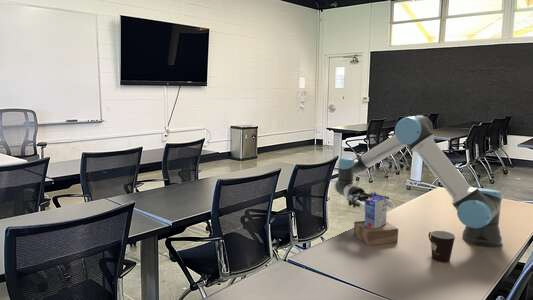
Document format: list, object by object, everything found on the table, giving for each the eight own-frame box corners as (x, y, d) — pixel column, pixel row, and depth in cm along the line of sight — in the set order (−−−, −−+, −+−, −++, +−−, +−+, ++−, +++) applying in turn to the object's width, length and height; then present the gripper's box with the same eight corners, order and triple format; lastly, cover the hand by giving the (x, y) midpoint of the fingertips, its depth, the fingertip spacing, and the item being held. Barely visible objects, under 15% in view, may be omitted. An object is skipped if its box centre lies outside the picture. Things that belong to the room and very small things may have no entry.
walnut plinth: (397, 242, 171) (398, 228, 170) (368, 245, 168) (369, 231, 167) (380, 231, 184) (381, 219, 183) (353, 234, 180) (354, 221, 179)
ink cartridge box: (375, 221, 180) (377, 190, 178) (386, 224, 176) (388, 192, 174) (363, 226, 173) (365, 194, 171) (374, 229, 169) (376, 196, 167)
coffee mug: (455, 264, 150) (457, 239, 148) (431, 262, 151) (433, 237, 150) (447, 252, 161) (449, 228, 159) (425, 250, 163) (427, 227, 161)
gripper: (376, 199, 196) (402, 212, 176) (330, 202, 189) (352, 216, 169) (377, 184, 195) (403, 195, 174) (331, 187, 188) (353, 199, 168)
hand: (378, 206), depth 172 cm, fingers open, 13 cm apart
